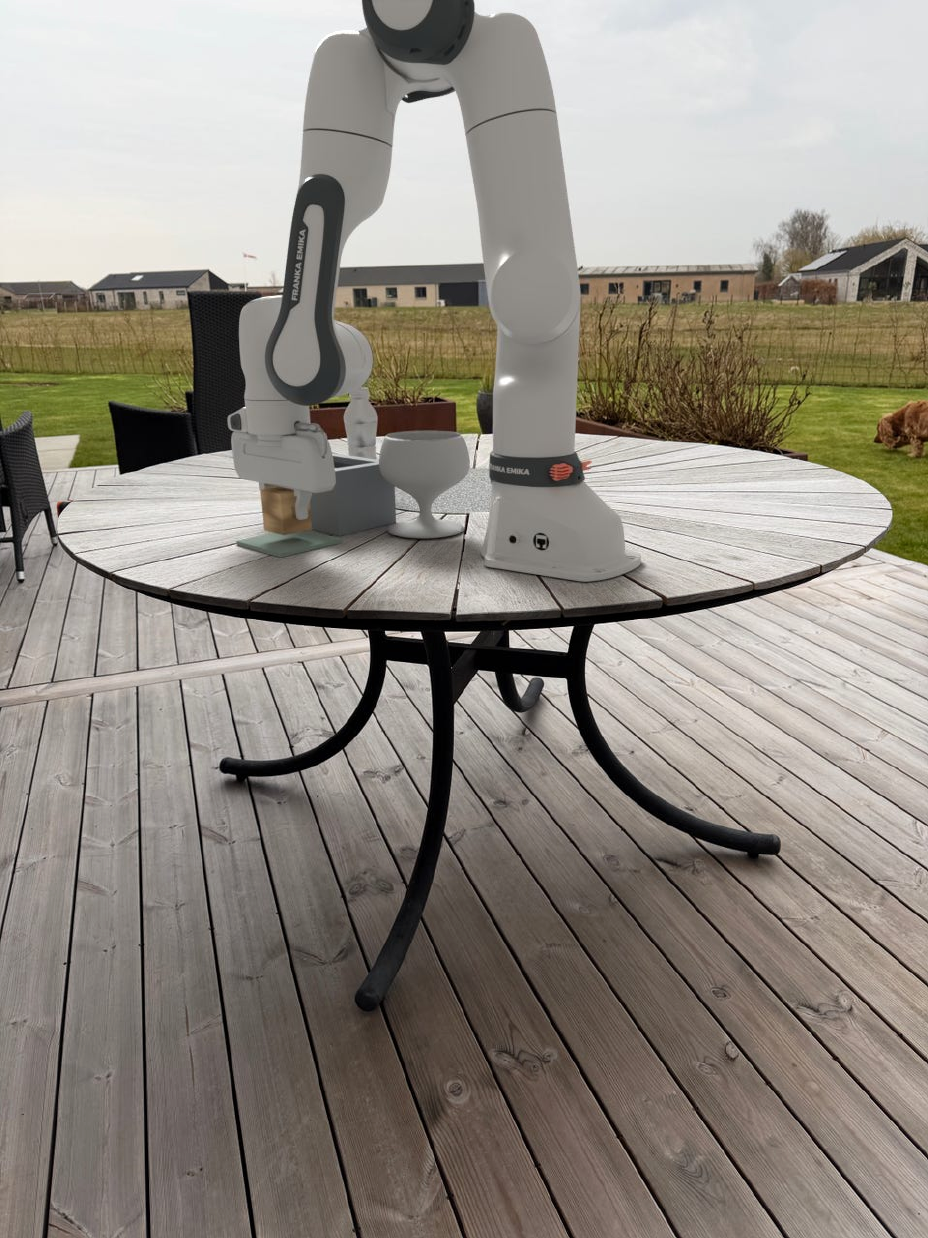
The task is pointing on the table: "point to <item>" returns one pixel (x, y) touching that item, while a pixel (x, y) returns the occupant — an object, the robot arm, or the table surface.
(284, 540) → the green mat
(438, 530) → the chalice
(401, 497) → the table surface
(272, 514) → the honey block
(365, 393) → the plastic bottle
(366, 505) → the box
